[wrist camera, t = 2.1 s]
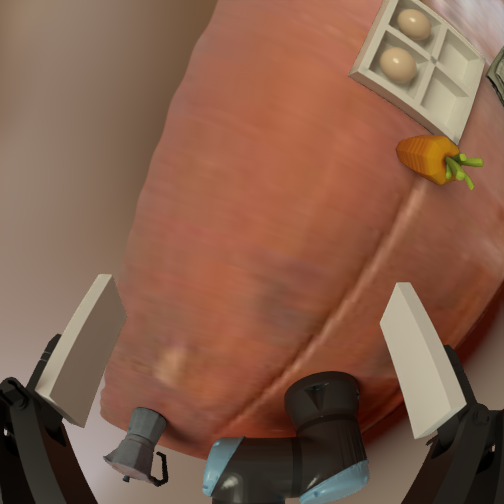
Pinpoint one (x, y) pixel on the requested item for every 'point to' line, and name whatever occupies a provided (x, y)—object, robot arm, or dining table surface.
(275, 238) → the dining table surface
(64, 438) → the robot arm
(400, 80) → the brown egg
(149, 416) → the moka pot
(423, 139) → the carrot
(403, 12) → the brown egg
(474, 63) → the carton
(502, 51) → the dish towel
